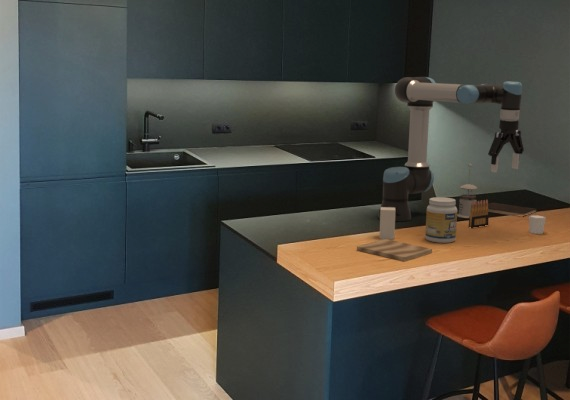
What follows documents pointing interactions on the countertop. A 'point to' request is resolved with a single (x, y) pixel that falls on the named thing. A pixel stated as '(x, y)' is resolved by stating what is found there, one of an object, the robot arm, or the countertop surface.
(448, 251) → the countertop surface
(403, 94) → the robot arm
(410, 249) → the wooden board
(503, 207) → the hardcover book
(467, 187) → the french press
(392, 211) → the off-white block
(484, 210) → the ammunition clip
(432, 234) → the supplement tub
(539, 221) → the white cup
